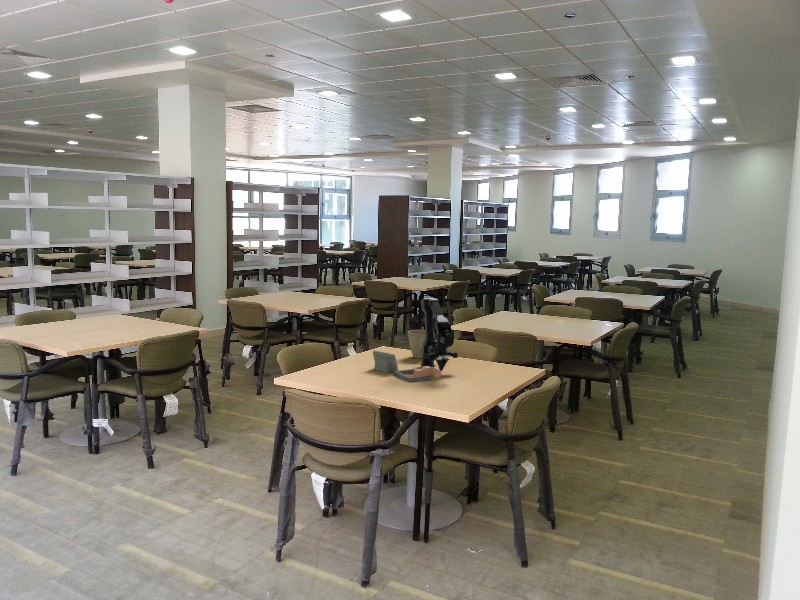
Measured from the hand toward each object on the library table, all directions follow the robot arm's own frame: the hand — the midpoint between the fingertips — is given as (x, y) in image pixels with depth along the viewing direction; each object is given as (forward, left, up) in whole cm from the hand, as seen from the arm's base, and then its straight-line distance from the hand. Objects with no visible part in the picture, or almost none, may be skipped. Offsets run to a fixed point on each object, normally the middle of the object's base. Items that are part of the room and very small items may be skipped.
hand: (440, 371), depth 352 cm
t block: (+10, 0, -2) cm, 10 cm away
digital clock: (+24, -20, -2) cm, 31 cm away
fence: (+18, 0, -2) cm, 18 cm away
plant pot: (-13, -42, -2) cm, 44 cm away
